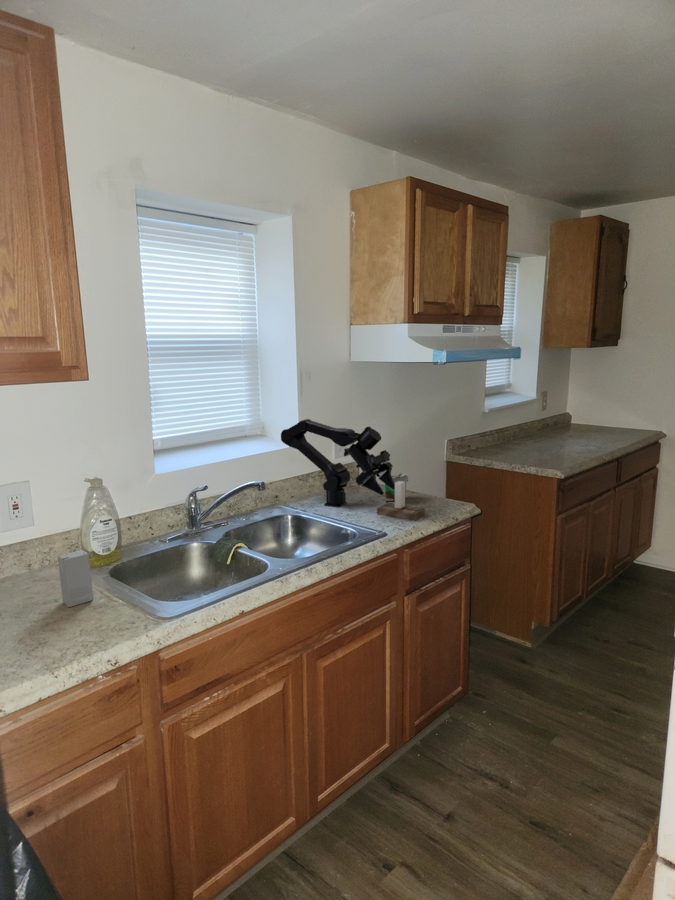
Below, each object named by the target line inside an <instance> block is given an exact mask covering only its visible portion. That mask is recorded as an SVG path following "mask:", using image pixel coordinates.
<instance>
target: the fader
mask: <svg viewBox="0 0 675 900" xmlns="http://www.w3.org/2000/svg"><path fill="white" fill-rule="evenodd" d="M394 504H395V508H403V507H404V506H405V505H406V494H405V481H398V482H395V503H394Z"/></svg>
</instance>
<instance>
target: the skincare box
mask: <svg viewBox="0 0 675 900" xmlns="http://www.w3.org/2000/svg"><path fill="white" fill-rule="evenodd" d="M57 563H58V564H57V565H58V571H59V573H58V574H59V579H60V580H59V582H60V589H61V590H60V591H61V596H62V603H64V605H66V606H67V607H68V608H71V607H75V606H78V605H81V604H84V603H88V602H91V601H94V591H93V581H92V573H91V572H92V571H91V563H90V554H89V553H88V552H87V551H85V550H83V549H81V550H77V551H73V552H69V553H68V552H67V553H63V554H61V555H57Z"/></svg>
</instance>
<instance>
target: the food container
mask: <svg viewBox="0 0 675 900" xmlns="http://www.w3.org/2000/svg"><path fill="white" fill-rule="evenodd" d="M391 476H392V479H393V482H394V484H395V482H398V481H405V495H406V492H407V482H409V477H408V474H407V473H406V472H401V471H400V472H399V474H397V475H391ZM384 491H385V492H384V494H385V503H388V502H395V489H392V488H390V487H389V486H388V485H386V484H385V483H384Z"/></svg>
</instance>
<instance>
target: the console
mask: <svg viewBox="0 0 675 900" xmlns="http://www.w3.org/2000/svg"><path fill="white" fill-rule="evenodd" d="M382 515H383V517H389V518H395V519H402V520H408V521H414V522H416V521H418V520H419V519H421V518H423V517H424V516H426V508H425V507H418V506H413V505H412V506H411V505H406V504H405V506H404V507H403V508H395V503H388V502H385V503H384V504H382V505H380V506H378V507H377V508H376V516H382Z"/></svg>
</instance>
